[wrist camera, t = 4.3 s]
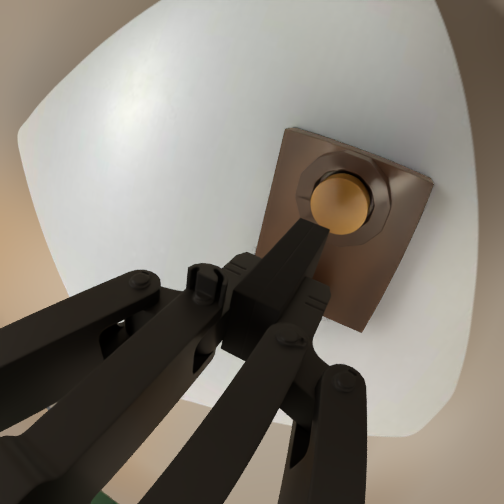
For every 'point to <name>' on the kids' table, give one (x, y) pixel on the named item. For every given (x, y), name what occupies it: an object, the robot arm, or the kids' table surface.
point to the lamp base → (358, 242)
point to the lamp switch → (340, 203)
